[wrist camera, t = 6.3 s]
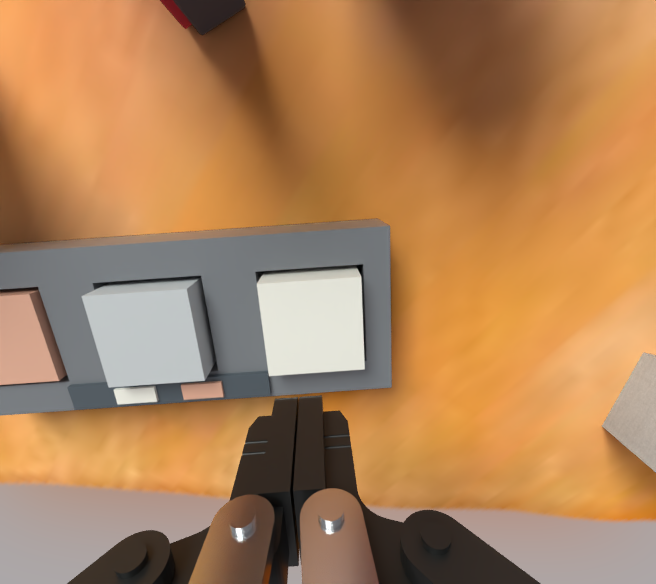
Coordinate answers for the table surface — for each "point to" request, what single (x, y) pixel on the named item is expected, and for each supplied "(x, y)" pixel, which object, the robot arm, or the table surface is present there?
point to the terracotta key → (27, 339)
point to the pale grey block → (637, 412)
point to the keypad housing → (221, 300)
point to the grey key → (151, 331)
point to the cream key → (312, 319)
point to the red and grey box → (203, 12)
